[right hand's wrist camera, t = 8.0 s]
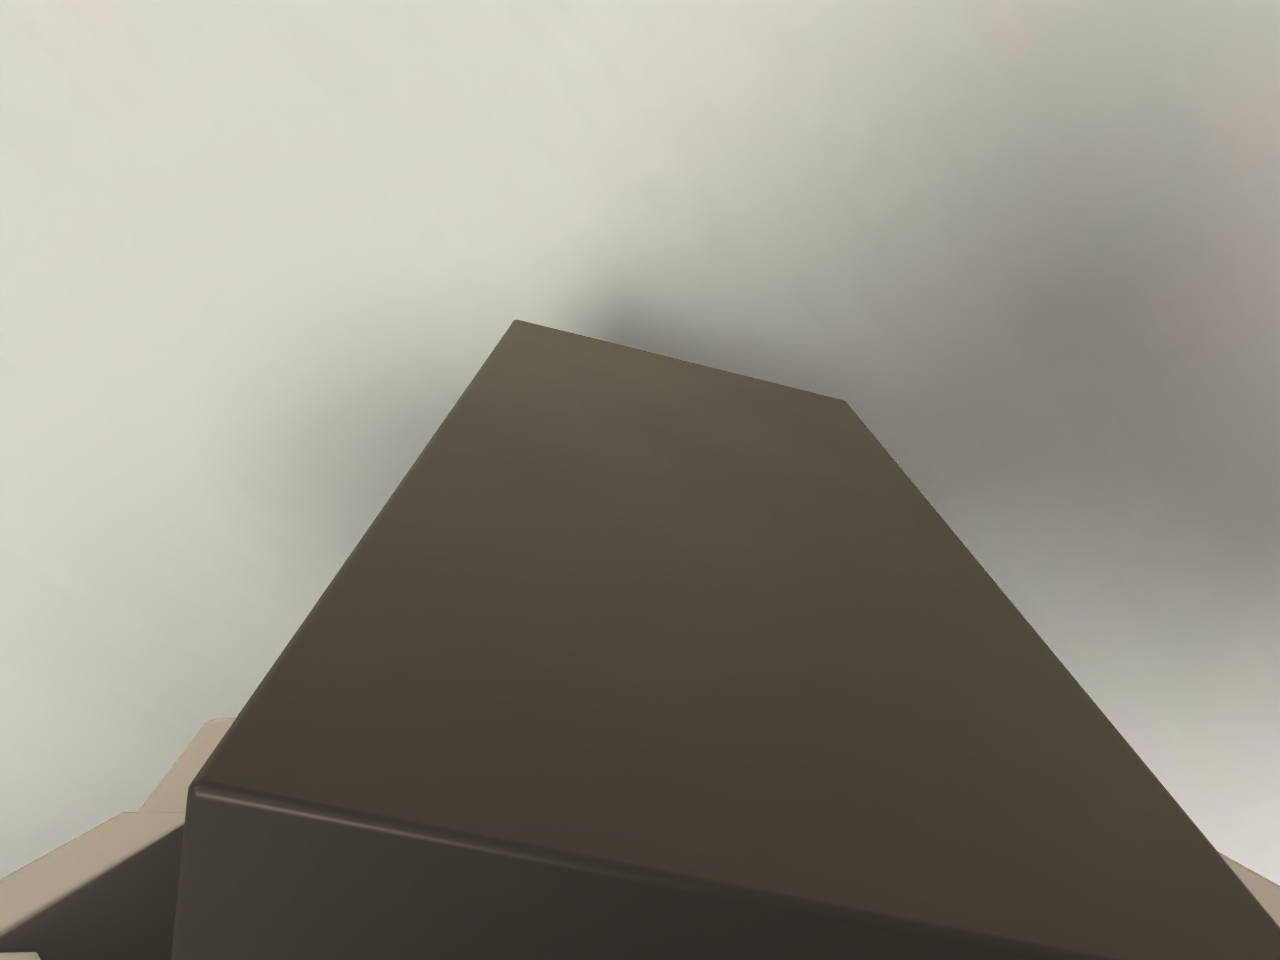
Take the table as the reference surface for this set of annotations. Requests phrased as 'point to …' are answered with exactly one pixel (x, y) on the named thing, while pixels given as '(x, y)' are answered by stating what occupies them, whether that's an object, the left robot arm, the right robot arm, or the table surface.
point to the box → (679, 713)
